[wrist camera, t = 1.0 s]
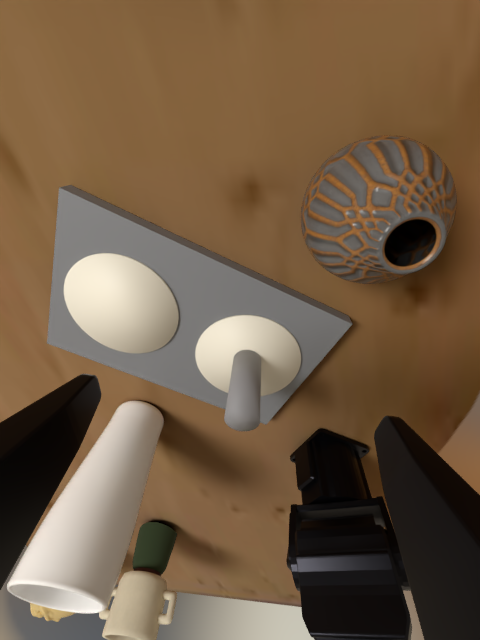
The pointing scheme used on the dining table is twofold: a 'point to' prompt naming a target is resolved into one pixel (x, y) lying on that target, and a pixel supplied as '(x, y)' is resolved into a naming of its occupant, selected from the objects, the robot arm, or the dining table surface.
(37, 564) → the white tapered cylinder
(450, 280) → the dining table surface
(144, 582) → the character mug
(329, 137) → the dining table surface
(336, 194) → the vase
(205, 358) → the board
